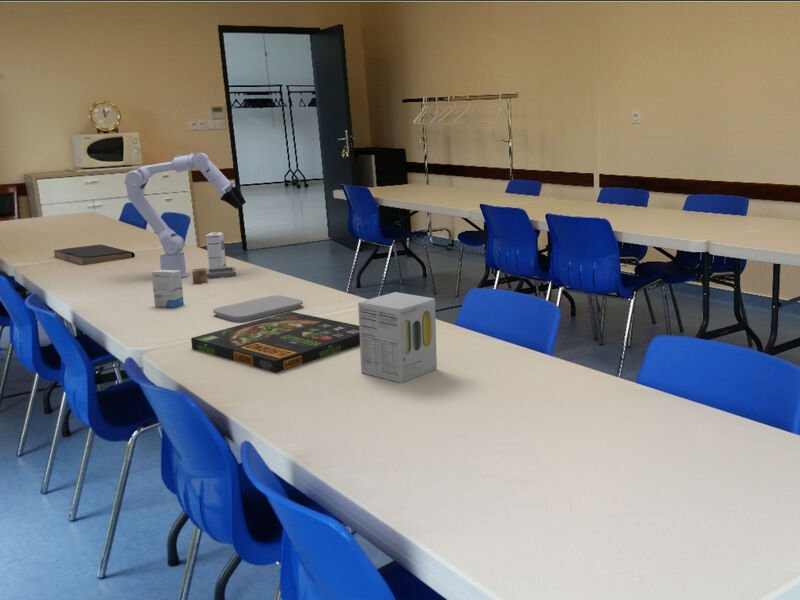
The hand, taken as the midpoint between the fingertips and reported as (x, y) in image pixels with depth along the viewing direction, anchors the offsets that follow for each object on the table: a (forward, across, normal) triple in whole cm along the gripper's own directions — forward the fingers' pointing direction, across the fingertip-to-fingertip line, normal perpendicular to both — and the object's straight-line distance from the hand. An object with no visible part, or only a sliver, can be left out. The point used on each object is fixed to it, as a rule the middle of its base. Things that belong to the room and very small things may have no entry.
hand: (241, 205), depth 313 cm
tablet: (+30, -64, 0) cm, 70 cm away
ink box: (+10, -54, +25) cm, 60 cm away
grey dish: (+15, -4, +24) cm, 28 cm away
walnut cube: (+11, -18, +27) cm, 34 cm away
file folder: (-28, +44, +83) cm, 98 cm away
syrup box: (+12, +10, +29) cm, 33 cm away
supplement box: (+57, -126, -41) cm, 144 cm away
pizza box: (+38, -102, -14) cm, 110 cm away
